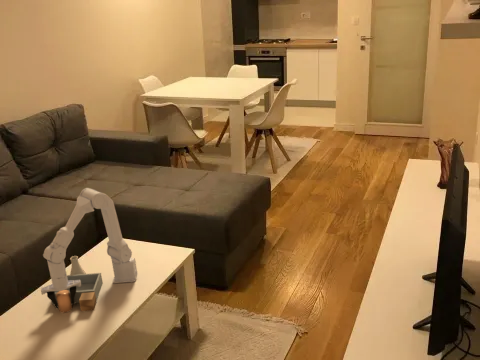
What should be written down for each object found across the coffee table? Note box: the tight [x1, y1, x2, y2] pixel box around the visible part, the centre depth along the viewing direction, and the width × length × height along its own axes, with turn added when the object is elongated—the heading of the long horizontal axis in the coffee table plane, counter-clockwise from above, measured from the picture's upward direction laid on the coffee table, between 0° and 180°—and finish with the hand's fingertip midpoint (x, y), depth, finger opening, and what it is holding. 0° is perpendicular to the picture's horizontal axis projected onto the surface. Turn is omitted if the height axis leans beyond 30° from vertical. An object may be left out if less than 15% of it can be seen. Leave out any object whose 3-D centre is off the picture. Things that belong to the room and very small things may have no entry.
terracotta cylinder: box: [56, 290, 73, 314], centre depth 202 cm, size 5×5×7 cm
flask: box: [69, 255, 87, 275], centre depth 222 cm, size 7×7×10 cm
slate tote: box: [50, 272, 104, 306], centre depth 212 cm, size 17×13×5 cm
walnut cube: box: [78, 292, 97, 312], centre depth 203 cm, size 5×5×5 cm
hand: (65, 305), depth 203 cm, fingers open, 5 cm apart
